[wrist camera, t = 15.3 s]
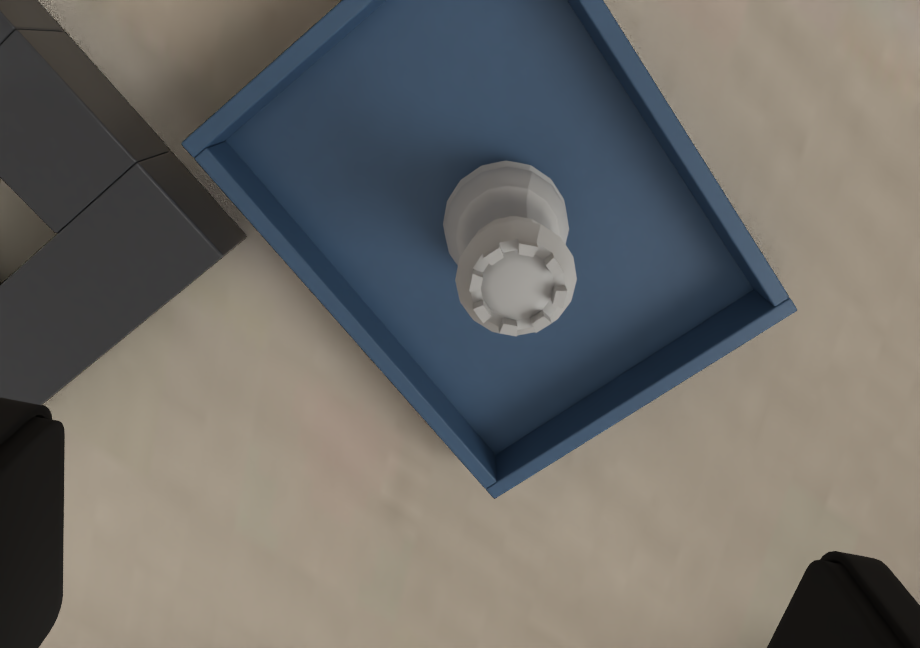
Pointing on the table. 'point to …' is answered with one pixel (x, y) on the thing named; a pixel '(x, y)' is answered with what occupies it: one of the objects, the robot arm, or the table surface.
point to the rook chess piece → (510, 248)
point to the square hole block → (88, 210)
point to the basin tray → (436, 176)
